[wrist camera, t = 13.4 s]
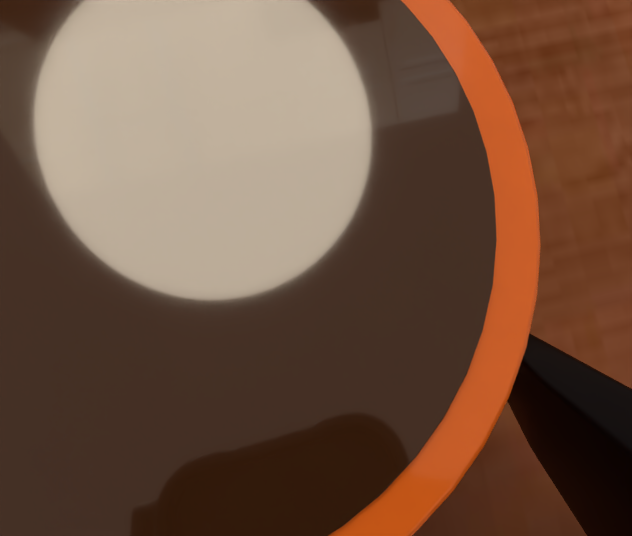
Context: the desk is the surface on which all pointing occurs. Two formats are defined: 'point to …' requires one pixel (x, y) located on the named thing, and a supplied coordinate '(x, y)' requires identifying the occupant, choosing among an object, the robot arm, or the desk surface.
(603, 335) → the desk surface
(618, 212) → the desk surface
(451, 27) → the cup
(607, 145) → the desk surface
